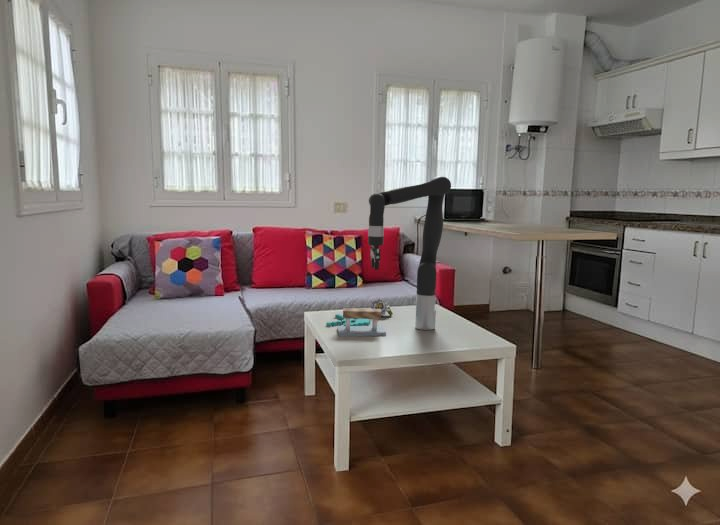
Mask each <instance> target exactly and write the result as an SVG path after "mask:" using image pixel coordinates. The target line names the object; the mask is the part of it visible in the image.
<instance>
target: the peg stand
mask: <svg viewBox="0 0 720 525" xmlns="http://www.w3.org/2000/svg"><path fill="white" fill-rule="evenodd" d="M371 321H372V324H371V325H368V326H350V318H346V326H344V325H336V330H337V333H338V336H339V337H366V336H367V337H373V336H376V337H380V336H384V337H385V336H387V331H386V330H385V328H384V327H383V326H382V325H378V319H371Z"/></svg>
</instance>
